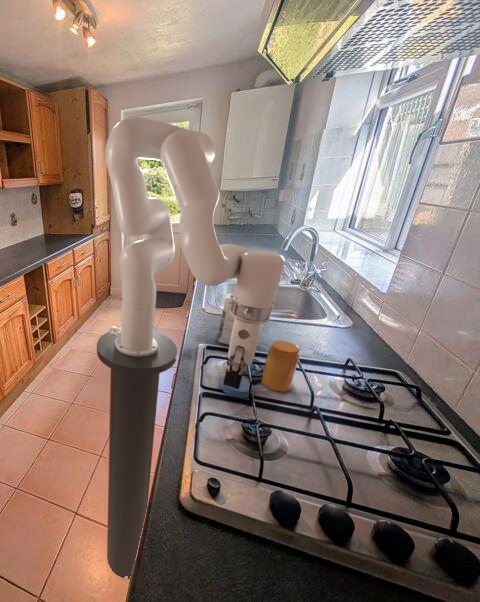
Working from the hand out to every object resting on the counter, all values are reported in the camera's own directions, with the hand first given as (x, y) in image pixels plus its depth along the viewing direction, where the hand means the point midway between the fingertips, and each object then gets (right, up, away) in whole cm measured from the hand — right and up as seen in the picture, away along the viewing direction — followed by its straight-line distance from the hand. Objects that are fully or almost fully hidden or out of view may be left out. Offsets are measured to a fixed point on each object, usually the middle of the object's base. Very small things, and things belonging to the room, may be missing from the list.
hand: (234, 374), depth 71 cm
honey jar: (+11, -3, +2) cm, 12 cm away
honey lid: (+1, -2, 0) cm, 2 cm away
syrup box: (+9, +5, +22) cm, 25 cm away
